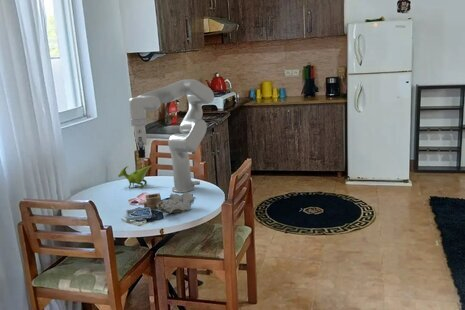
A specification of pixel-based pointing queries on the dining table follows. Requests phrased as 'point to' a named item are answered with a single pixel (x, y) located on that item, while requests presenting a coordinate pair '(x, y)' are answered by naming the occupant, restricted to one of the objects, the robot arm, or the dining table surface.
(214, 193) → the dining table surface
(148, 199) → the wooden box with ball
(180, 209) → the rock
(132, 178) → the toy
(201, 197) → the dining table surface
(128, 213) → the tray
